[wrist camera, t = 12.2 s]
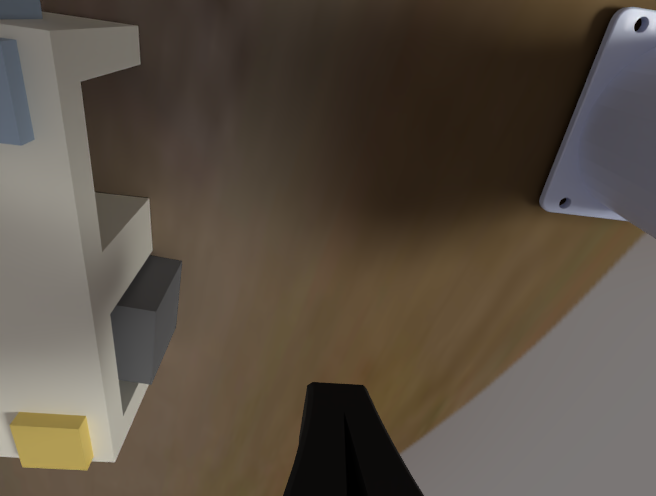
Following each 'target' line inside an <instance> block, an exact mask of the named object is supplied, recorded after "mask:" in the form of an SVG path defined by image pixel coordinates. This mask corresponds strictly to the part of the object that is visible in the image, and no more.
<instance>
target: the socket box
mask: <svg viewBox="0 0 656 496" xmlns="http://www.w3.org/2000/svg"><path fill="white" fill-rule="evenodd" d="M140 64H141V61H140V45H139V30H138V26H137V25H130V24H124V23H117V22H110V21H103V20H97V19H90V18H83V17H76V16H70V15H63V14H56V13H49V12H42V10H41V4H40V0H0V457H19V458H20V461H21V464H22V467H29V468H50V469H71V470H87V469H88V467H89V465H90V463H91V461H100V462H115V461H116V459H117V456H118V454H119V452H120V449H121V447H122V445H123V442H124V440H125V438H126V436H127V433H128V431H129V429H130V426H131V424H132V422H133V419H134V417H135V415H136V413H137V410H138V408H139V406H140V403H141V401H142V399H143V396H144V394H145V392H146V390H147V387H148V385H149V384H143V383H136V382H129V381H121V380H119V379H118V372H117V364H116V356H115V348H114V340H113V332H112V325H111V317H110V314H111V312H112V311H113V309H114V308H115V306H116V305H117V303H118V302H119V300H120V299H121V297H122V296H123V294H124V293H125V291H126V290H127V288H128V287H129V285H130V284H131V282H132V281H133V279H134V278H135V276H136V275H137V273H138V272H139V270H140V269H141V267H142V266H143V264H144V263H145V261H146V260H147V258H148V257H149V255H150V254H151V252H152V251H153V249H152V233H151V217H150V202H149V198H142V197H133V196H124V195H115V194H106V193H97V192H95V191H94V183H93V176H92V168H91V160H90V152H89V144H88V136H87V129H86V121H85V113H84V105H83V97H82V89H81V82H82V81H85V80H89V79H92V78H96V77H99V76H103V75H106V74H109V73H113V72H116V71H120V70H123V69H127V68H130V67H134V66H137V65H140Z"/></svg>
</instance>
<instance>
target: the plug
mask: <svg viewBox="0 0 656 496" xmlns="http://www.w3.org/2000/svg"><path fill="white" fill-rule="evenodd" d="M181 268H182V261H179V260H174V259H168V258H163V257H157V256H152V255H149V257H148V258H147V260H146V261H145V263H144V264H143V266H142V267H141V269H140V270H139V272H138V273H137V275H136V276H135V278H134V279H133V281H132V282H131V284H130V285H129V287H128V288H127V290H126V291H125V293H124V294H123V296H122V297H121V299H120V300H119V302H118V303H117V305H116V306H115V308H114V309H113V311H112V312H111V314H110V317H111V325H112V332H113V340H114V348H115V356H116V364H117V372H118V379H119V380H121V381H129V382H136V383H143V384H150V385H151V384H152V382H153V380H154V377H155V375H156V373H157V370H158V368H159V366H160V363H161V361H162V359H163V356H164V354H165V352H166V349H167V347H168V344H169V342H170V340H171V337H172V335H173V333H174V330H175V328H176V322H177V311H178V300H179V290H180V279H181Z"/></svg>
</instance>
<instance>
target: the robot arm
mask: <svg viewBox="0 0 656 496" xmlns="http://www.w3.org/2000/svg"><path fill="white" fill-rule="evenodd" d="M639 18H641V21H642V23H641V26H640V28H639V29H638V30H637V31H636V32H635V30H634V25H635V23H636V21H637V20H638V19H639ZM563 198H566V201H565V203H564V204H562V205H559V202H560V201H561V200H562V199H563ZM539 203H540V206H541V207H542V208H543V209H544V210H546V211H548V212H554V213H563V214H572V215H580V216H589V217H597V218H606V219H614V220H623V221H629V222H630V223H632V224H633V225H635V226H637V227H638V228H640V229H641V230H643V231H644V232H646V233H647V234H649V235H651V236H652V237H654V238H655V239H656V11H655V10H649V9H643V8H637V7H624V8H622V9H620V10H618V11H617V12H616V13H615V14H614V15H613V16H612V18H611V20H610V22H609V25H608V27H607V30H606V32H605V35H604V37H603V40H602V42H601V45H600V47H599V50H598V52H597V55H596V57H595V60H594V62H593V65H592V68H591V70H590V73H589V75H588V78H587V80H586V83H585V85H584V88H583V90H582V93H581V95H580V98H579V100H578V103H577V105H576V108H575V110H574V113H573V115H572V118H571V120H570V123H569V126H568V128H567V131H566V133H565V136H564V138H563V141H562V143H561V146H560V148H559V151H558V153H557V156H556V158H555V161H554V163H553V166H552V168H551V171H550V173H549V176H548V178H547V181H546V184H545V186H544V189H543V191H542V194H541V196H540V200H539ZM283 496H424V495H423V494H422V492H421V490H420V489H419V487H418V486H417V484H416V482H415V480H414V479H413V477H412V475H411V474H410V472H409V470H408V468H407V467H406V465H405V463H404V461H403V460H402V458H401V456H400V455H399V453H398V451H397V449H396V447H395V446H394V444H393V442H392V440H391V438H390V436H389V434H388V433H387V431H386V429H385V427H384V425H383V423H382V421H381V419H380V417H379V415H378V413H377V411H376V409H375V406H374V404H373V402H372V400H371V398H370V396H369V393H368V391H367V389H366V388H365V387H364V386H363V385H353V384H336V383H318V382H312V383H311V384H309V385H307V391H306V398H305V404H304V410H303V417H302V423H301V430H300V436H299V446H298V450H297V454H296V457H295V461H294V464H293V468H292V471H291V474H290V477H289V480H288V483H287V486H286V489H285V492H284V494H283Z"/></svg>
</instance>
